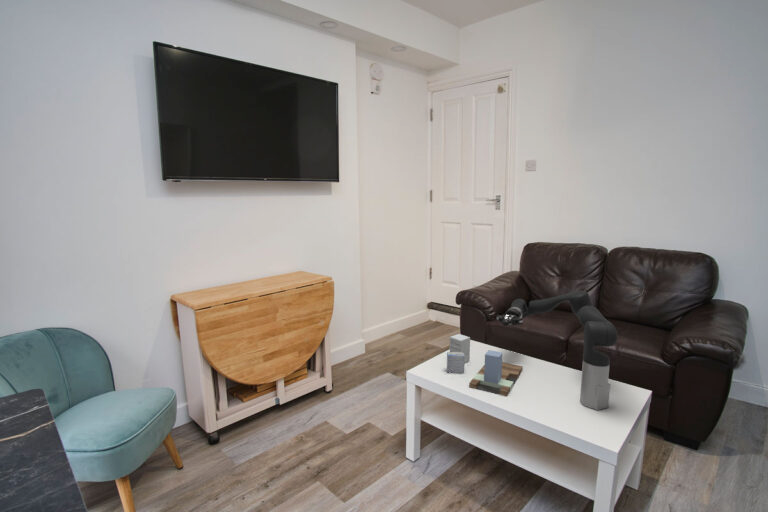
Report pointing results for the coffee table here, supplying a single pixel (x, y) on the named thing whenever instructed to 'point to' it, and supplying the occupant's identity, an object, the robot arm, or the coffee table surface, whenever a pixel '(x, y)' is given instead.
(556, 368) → the coffee table surface
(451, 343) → the supplement box
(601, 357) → the robot arm
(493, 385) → the pad
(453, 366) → the medicine box
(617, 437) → the coffee table surface
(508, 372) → the deck
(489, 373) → the block
